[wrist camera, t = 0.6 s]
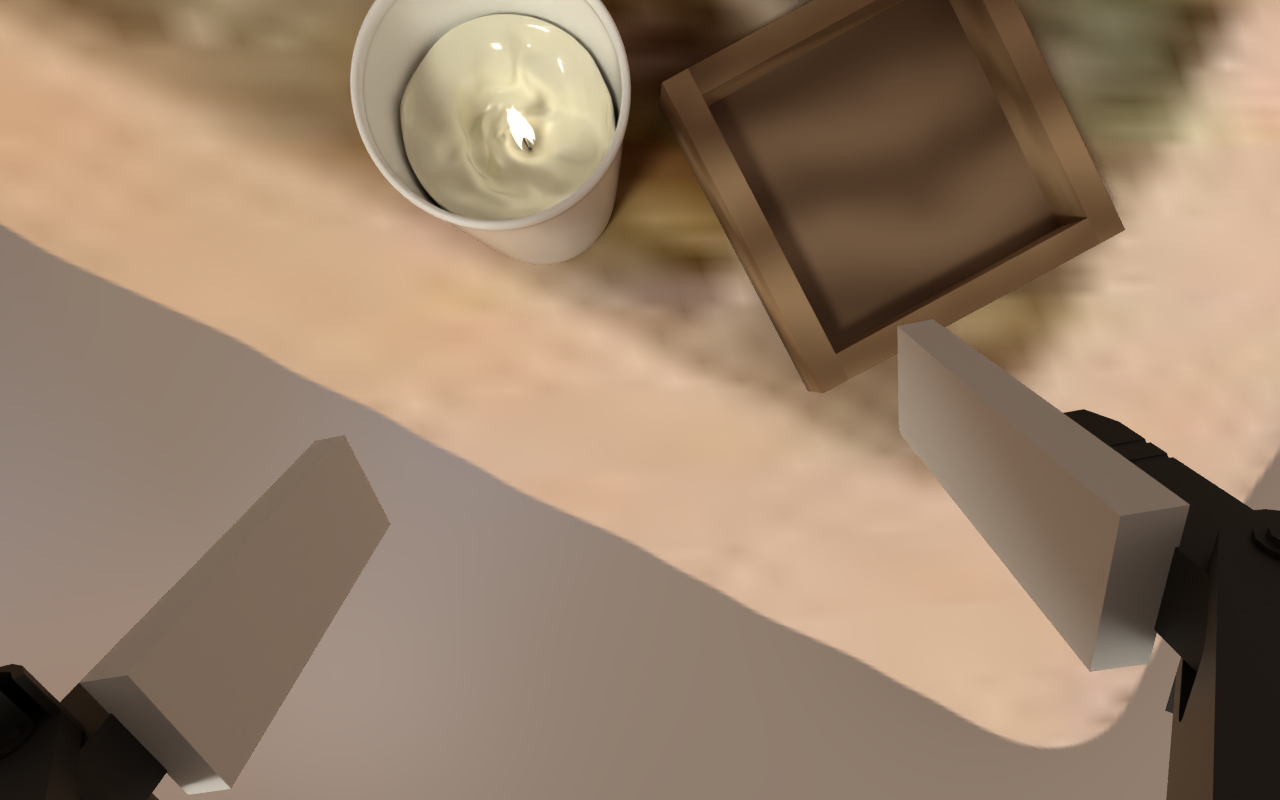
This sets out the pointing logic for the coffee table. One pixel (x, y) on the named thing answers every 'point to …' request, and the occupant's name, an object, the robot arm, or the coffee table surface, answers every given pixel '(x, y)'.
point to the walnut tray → (886, 169)
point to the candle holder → (497, 116)
